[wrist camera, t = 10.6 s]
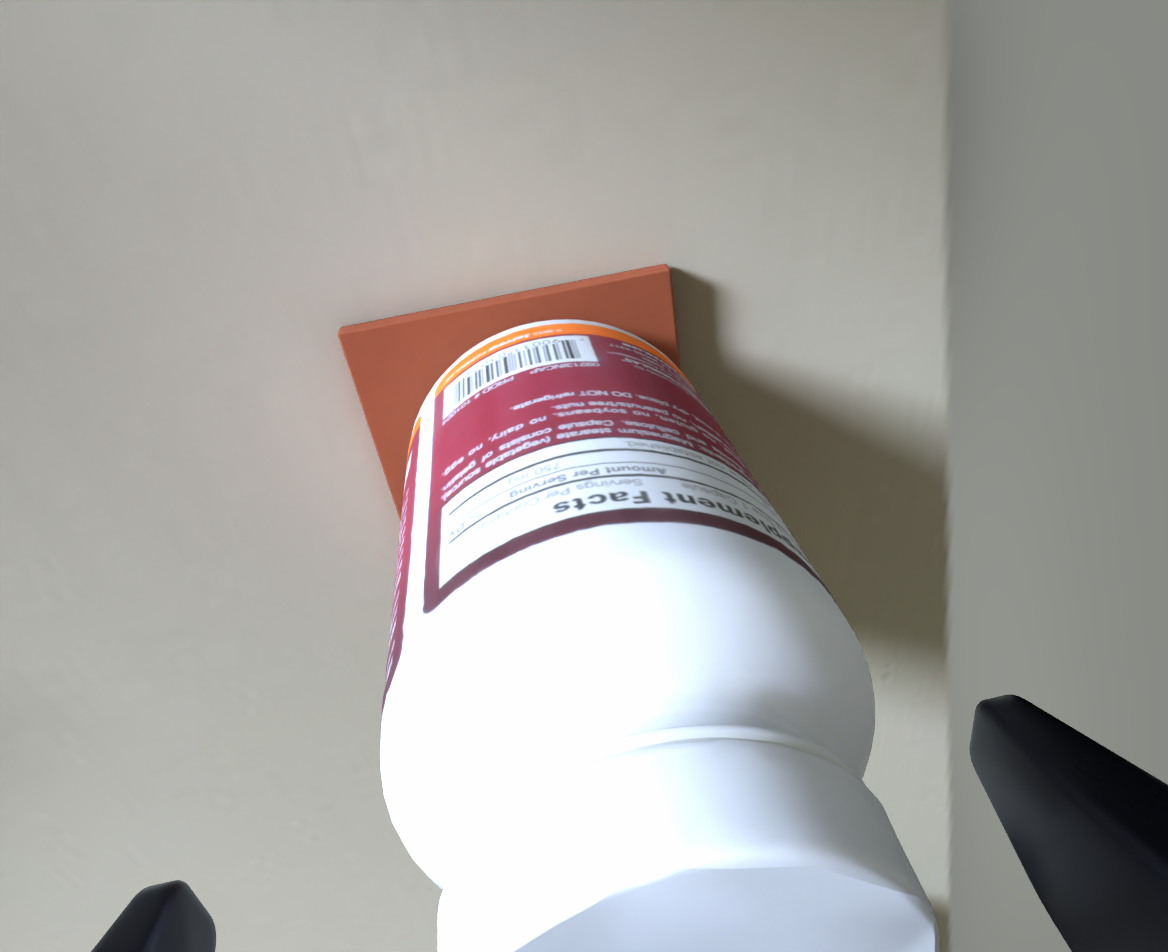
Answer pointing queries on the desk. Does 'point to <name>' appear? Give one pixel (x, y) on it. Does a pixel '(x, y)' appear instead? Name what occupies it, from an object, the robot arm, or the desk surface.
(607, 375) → the pill bottle
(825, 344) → the desk surface
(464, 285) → the desk surface
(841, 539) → the desk surface
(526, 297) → the mat
